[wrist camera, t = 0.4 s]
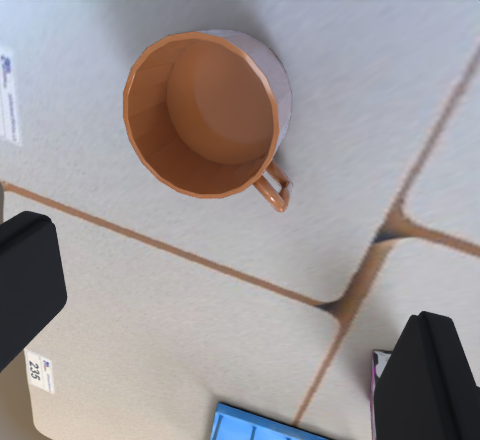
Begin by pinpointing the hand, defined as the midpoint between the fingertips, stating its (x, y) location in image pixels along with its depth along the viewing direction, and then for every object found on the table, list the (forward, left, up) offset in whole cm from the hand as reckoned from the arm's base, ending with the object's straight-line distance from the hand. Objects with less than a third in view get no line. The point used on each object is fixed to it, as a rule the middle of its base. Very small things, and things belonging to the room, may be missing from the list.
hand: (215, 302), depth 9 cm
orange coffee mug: (+7, -3, -29) cm, 30 cm away
